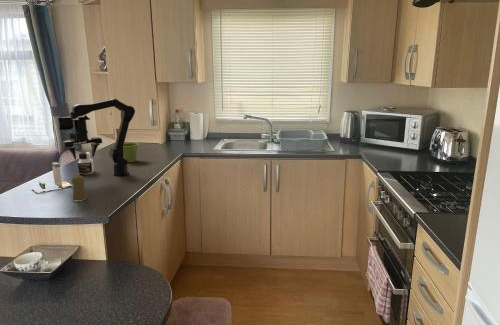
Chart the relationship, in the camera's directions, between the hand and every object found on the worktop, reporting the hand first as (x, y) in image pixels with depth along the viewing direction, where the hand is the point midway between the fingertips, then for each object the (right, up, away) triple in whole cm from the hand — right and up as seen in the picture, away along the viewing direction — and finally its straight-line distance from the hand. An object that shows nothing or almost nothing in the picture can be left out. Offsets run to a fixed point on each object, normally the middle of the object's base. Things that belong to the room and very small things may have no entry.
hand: (84, 158), depth 193 cm
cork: (+11, -19, -29) cm, 36 cm away
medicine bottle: (-7, -8, +18) cm, 21 cm away
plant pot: (+9, -2, +45) cm, 46 cm away
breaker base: (-11, -15, -11) cm, 21 cm away
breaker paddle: (-9, -13, -9) cm, 18 cm away
